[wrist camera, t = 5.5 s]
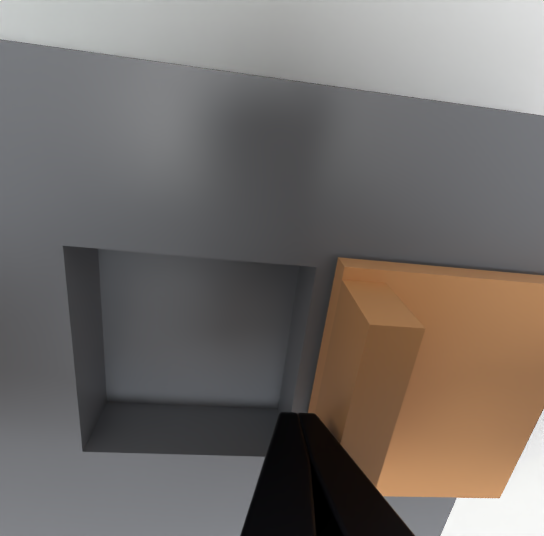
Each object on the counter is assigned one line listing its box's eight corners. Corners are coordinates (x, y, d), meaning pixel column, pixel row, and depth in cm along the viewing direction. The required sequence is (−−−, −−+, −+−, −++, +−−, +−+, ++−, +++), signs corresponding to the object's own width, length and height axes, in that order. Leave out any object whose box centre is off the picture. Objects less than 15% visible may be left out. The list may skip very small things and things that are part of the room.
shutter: (295, 476, 11) (309, 571, 9) (338, 257, 8) (373, 308, 6) (487, 480, 12) (548, 569, 9) (580, 278, 9) (696, 332, 7)
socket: (31, 470, 14) (-12, 541, 11) (-41, 46, 9) (-144, 19, 6) (408, 478, 15) (437, 541, 13) (533, 125, 10) (616, 125, 8)
